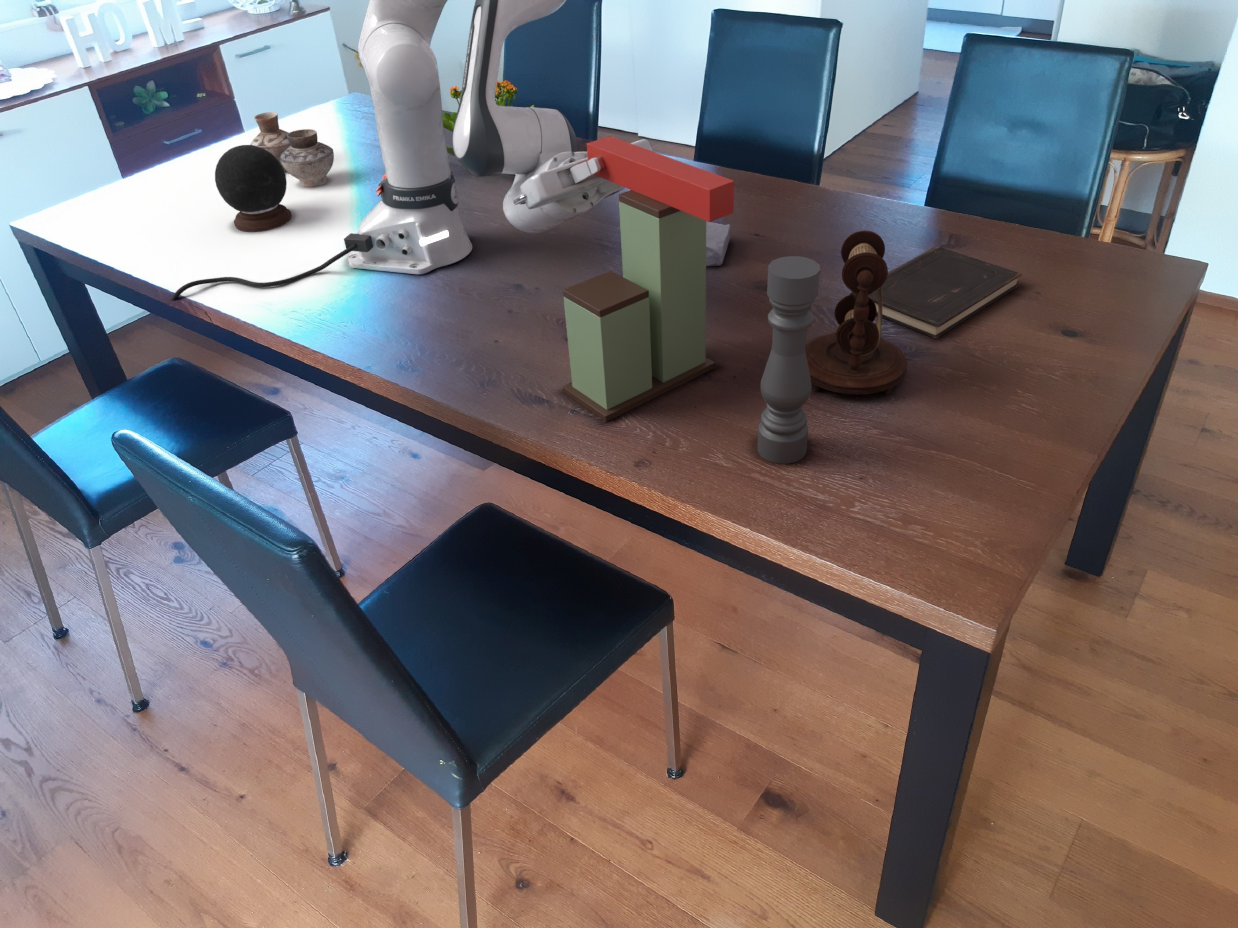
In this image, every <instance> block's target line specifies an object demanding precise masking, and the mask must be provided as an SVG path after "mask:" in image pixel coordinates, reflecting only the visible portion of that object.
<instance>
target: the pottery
mask: <svg viewBox="0 0 1238 928" xmlns="http://www.w3.org/2000/svg"><path fill="white" fill-rule="evenodd" d="M253 118H254V121H255V122H256V124H257V126H258V129H259V133H258V134H257V135H256V136H255V137H254V138H253V139H252V140H251V142H250V145H254V146H258V147H261V148H263V149H265V150H267V151H268V152H270V153H271V154H273V155H274V156H275V157H276V159H277V160H278V161H279V162H280V164H281V165H282V167H283V169H284V172H287V173H288V174H290V176H292V177H294V178H295V179H297V180H299V184H300V186H302V187H305V188H312V187H313V188H314V187H318V186H321V185H323V184H326V183H327V182H328V176H327V175H328V174H329V172H330V171H331V169H332V167H333V164H334V161H335V153H334V149H333V148H332V147H331V146H330V145H327V144H325V143H323V142H320V141H318V132H317V130H315V129H311V128H305V129H304V128H303V129H297V130H292V131H290V132H288V131H286V130H284V129H281V128H280V125H279V115H278V113H277V112H273V111H271V112H268V111H267V112H262V113H258V114H257V115H256V114H255V116H253Z"/></svg>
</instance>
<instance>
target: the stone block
mask: <svg viewBox="0 0 1238 928" xmlns="http://www.w3.org/2000/svg"><path fill="white" fill-rule="evenodd" d="M730 240H731V225H730V224H729V223H728V224H721V223H719V222H713V221H712V222H708V221H706V267H720V266H722V265H723V263H724V259H725V256H726V253H727V250H728V246H729V243H730Z"/></svg>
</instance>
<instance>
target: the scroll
mask: <svg viewBox="0 0 1238 928" xmlns="http://www.w3.org/2000/svg"><path fill="white" fill-rule="evenodd" d="M885 252H886V245H885V242H884V240H883V238H882V237H881V236H880V235H879V234H878V233H876V232H874V231H871V230H858V231H855V232H853V233H851V234H849V235H848V236H847V237H846V238H845V239H844V241H843V243H842V245H841V249H840V255H841V259H842V262H843V263H844V265H843V267H842V269H841V279H842V282H843V284H844V286H845V288H846V289H848V290H850V293H852V294H851V295H850V294H847V295H846V296H844V297H843V298H841V299H840V300H839V301H838V302H837V304H836V306H835V308H834V318H835V321H836V322H837V324H838V325H839V326H838V327H837V329H836V331H835V332H830V333H827V334H823V335H820V336H817V337H814V338H813V339H811V340H809V341H806V346H805V351H806V357H807V362H808V368H809V373H810V378H811V384H812V389H813V390H814V392H818V391H819V390H820V389H824V390H827V391H830V392H833V393H839V394H846V395H870V394H876V393H881V392H883V393H884V395H886V396H888V395H889V394H890V393H891V392H892V389H893V388H894V387H895V386H897V385H898V384H899V383H901V382H902V381H903V380H904V378H905V376H906V374H907V368H908V360H907V357H906V355H905V353H904V352H903V351H902V350H901V349H900V347H899V346H897V345H895V344H894V343H892V342H891V341H888V340H886V339H885V338H882V329H883V327H882V326H883V325H882V324H883V318H882V287H881V286H882V285H883V284H884V282H885V281H886V279H887V275H888V272H889V268H888V265H887V262H886V261H885V259H884V256H885ZM875 290H878V316H877V315H876V314H877V309H876V305H875V303H874V301H873V300H872V299H871V298H869V297H868V296H869V295H871V294H872V293H873V292H874V291H875ZM876 317H877V318H876ZM875 319H876V321H875ZM874 321H875V323H874Z"/></svg>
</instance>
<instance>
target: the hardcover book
mask: <svg viewBox="0 0 1238 928" xmlns="http://www.w3.org/2000/svg"><path fill="white" fill-rule="evenodd" d="M1022 275H1023V274H1022V273H1021V272H1018V271H1014V270H1012V269H1009V268H1005V267H1003V266H1001V265H1000V266H999V265H997V264H993V263H990V262H986V261H984V260H981V259H978V258H975V257H972V256H968V255H965V254H962V253H960V252H957V251H953V250H950V249H947V248H944V247H941V246H938V245H936V246H934V247H931V248H929V249H928V250H926V251H924V252H923V253H921V254H919V255H917V256H916V257H913V258H912V259H910V260H907V261H906V262H905V263H902V264H900V265H899V266H897V267H895V268H893V269H892V270H890V271H888V275H887V279H886V281H885V282H884V284H883V285H882V286H881V287H882V319H885V320H887V321H890V322H892V323H895V324H897V325H900V326H902V327H904V328H908V329H910V330H912V331H915V332H917V333H919V334H922V335H925V336H928V337H929V338H933V339H936V340H937V339H939V338H940V337H942V336H943V335H944V334H946V333H948V332H950V331H951V330H952V329H954V328H956V327H957V326H958V325H960V324H962V323H963V322H965V321H966V320H968V319H970V318H971V317H973V316H975V315H976V314H978V313H979V312H981V311H982V310H984V309H985V308H987V307H989V306H990V305H993V303H995V302H997V301H998V300H999V299H1001V298H1002V297H1003V298H1004V296H1006V295H1007V294H1010V292H1012V291H1014V290H1016V289H1017V288H1018V287H1019V286H1020V284H1017V282H1018V281H1019V278H1020V277H1022ZM851 294H852V292H850V293H849V295H851ZM868 297H869V298H871V299H872V300H873V301H874V303H875V305H876V309H877V314H876V317H878V290H875V291H874V292H873V293H872V294H871V295H869V296H868Z"/></svg>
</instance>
